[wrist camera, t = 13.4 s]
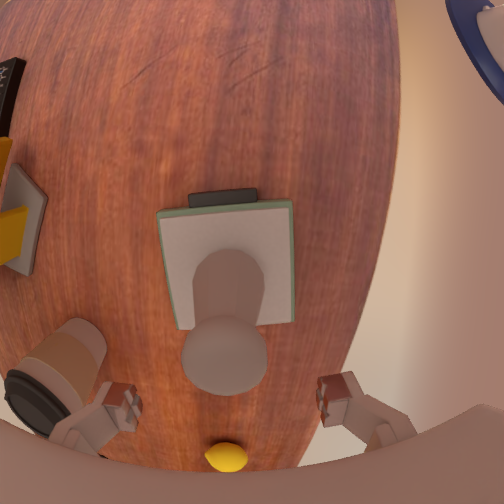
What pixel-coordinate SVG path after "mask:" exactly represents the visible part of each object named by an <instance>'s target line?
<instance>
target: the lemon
mask: <svg viewBox="0 0 504 504" xmlns="http://www.w3.org/2000/svg"><path fill="white" fill-rule="evenodd" d="M204 455H205V457H206V458H207V460H208V461H209V463H210V464H211V465H212V466H213V467H214V468H216V469H217V470H220V471H222V472H234V471H237V470H240V469H241V468H243V467H244V466H245V464H246V463H247V462H248V457H247V455H246V453H245V451H244V450H243V449H242V448H241V447H240V446H239V445H236V444H232V443H228V442H224V443H218V444H215V445H214V446H213V447H211V448H210V449H209V450H207V451H206V452H205V453H204Z"/></svg>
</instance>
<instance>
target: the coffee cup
mask: <svg viewBox="0 0 504 504" xmlns="http://www.w3.org/2000/svg"><path fill="white" fill-rule="evenodd" d="M106 352H107V345H106V341H105V339H104V337H103V335H102V334H101V332H100V331H99V330H98V329H97V328H96V327H95V326H94V325H93V324H91V323H90V322H88V321H86V320H84V319H81V318H72V319H69V320H68V321H67V322H66V323H64V324H63V325H62V326H61V327H60V328H59V329H57V330H56V331H55V332H54V333H52V334H50V335H49V336H48V337H47V338H46V339H44V340H43V341H42V342H41V343H40V344H39V345H37V346H36V347H35V348H34V349H33V350H32V351H31V352H29V353H28V354H27V355H26V356H25V357H24V358H23V359H22V360H21V361H20V364H18V365H17V366H16V367H15V368H14V369H12V370H9V371H8V373H7V378H6V379H5V381H4V386H5V391H6V393H5V397H4V399H5V400H6V401H7V402H8V404H9V406H10V408H11V410H12V411H13V412H14V413H15V415H16V416H17V417H18V418H19V419H20V420H21V421H22V422H23V423H24V424H25V425H26V426H27V427H28V428H30V429H31V430H32V431H34V432H35V433H37V434H39V435H40V436H42V437H45V438H47V439H48V438H49V436H50V434H51V432H52V431H53V429H54V427H55V425H56V423H58V422H60V421H61V420H63V419H65V418H66V417H68V416H70V415H71V414H73V413H74V412H76V411H78V410H79V409H81V408H83V407H84V406H85V405H86V403H87V400H88V398H89V395H90V393H91V390H92V388H93V385H94V383H95V380H96V378H97V375H98V370H99V368H100V366H101V364H102V362H103V359H104V357H105V355H106Z"/></svg>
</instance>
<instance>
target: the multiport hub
mask: <svg viewBox="0 0 504 504" xmlns="http://www.w3.org/2000/svg"><path fill="white" fill-rule="evenodd" d="M25 64H26V61H25V60H22V59H20V58H17V57H14V58H11V59H9V60H6V61H4V62H1V63H0V137H8V133H9V127H10V122H11V117H12V112H13V107H14V103H15V99H16V95H17V91H18V87H19V84H20V80H21V77H22V74H23V71H24V67H25Z"/></svg>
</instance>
